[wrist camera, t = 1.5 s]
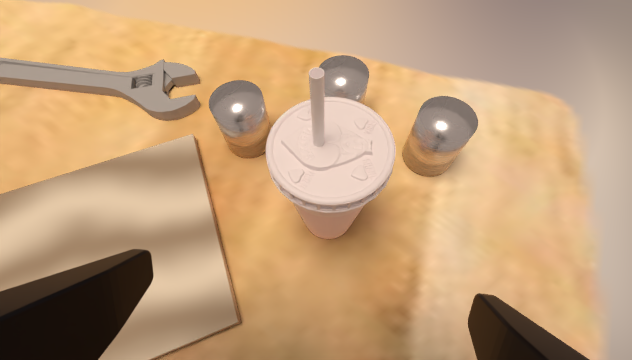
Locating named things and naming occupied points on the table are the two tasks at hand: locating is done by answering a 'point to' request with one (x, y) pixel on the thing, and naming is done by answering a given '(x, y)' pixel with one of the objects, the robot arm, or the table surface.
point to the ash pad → (129, 241)
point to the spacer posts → (351, 83)
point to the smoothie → (329, 158)
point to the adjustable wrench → (112, 84)
